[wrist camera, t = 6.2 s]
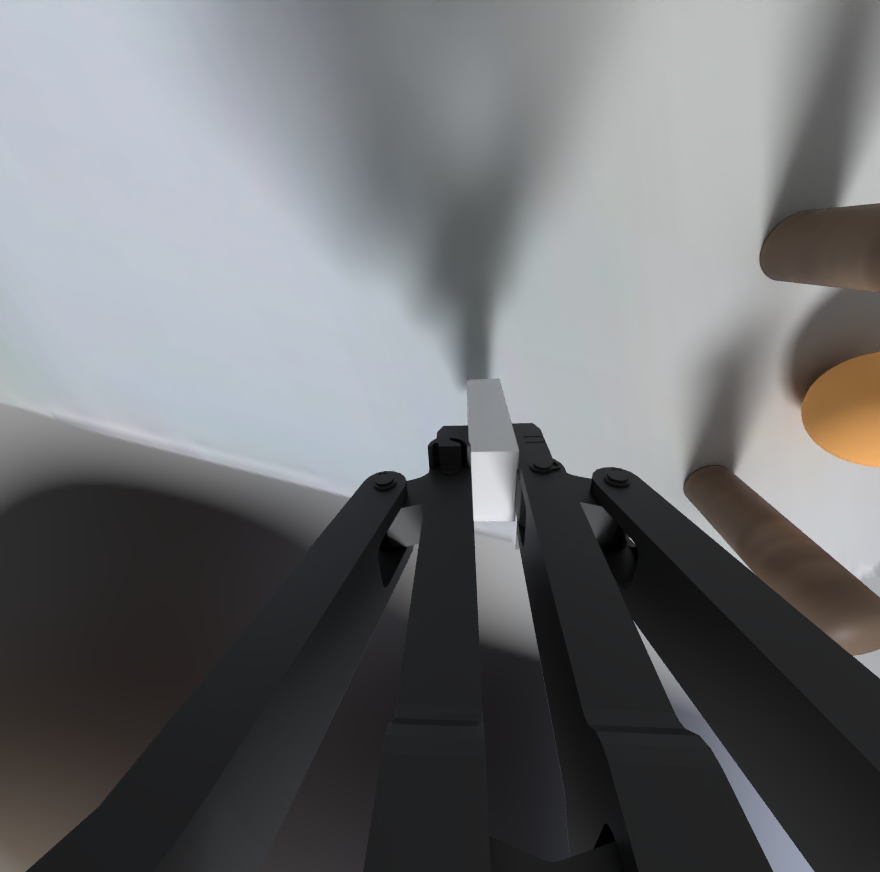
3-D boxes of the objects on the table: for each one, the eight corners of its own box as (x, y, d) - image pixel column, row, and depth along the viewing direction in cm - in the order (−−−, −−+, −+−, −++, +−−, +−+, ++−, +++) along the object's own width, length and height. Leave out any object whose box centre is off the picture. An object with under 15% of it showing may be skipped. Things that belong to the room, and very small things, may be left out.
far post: (690, 465, 20) (838, 609, 12) (739, 464, 20) (922, 611, 12) (678, 502, 21) (805, 655, 13) (724, 502, 21) (881, 656, 13)
